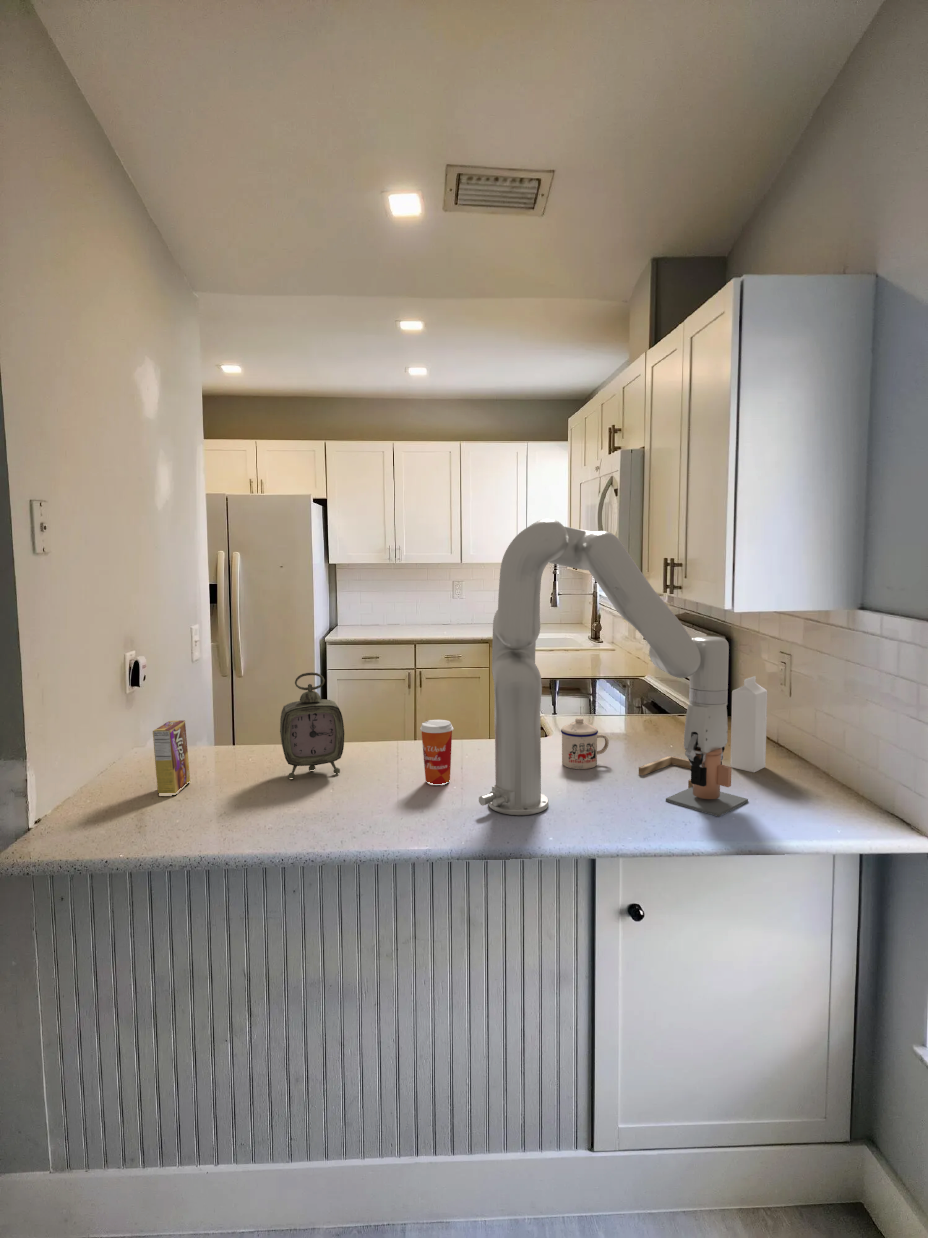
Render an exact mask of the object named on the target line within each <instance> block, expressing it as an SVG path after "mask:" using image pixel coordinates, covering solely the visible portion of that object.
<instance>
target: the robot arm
mask: <svg viewBox="0 0 928 1238" xmlns="http://www.w3.org/2000/svg"><path fill="white" fill-rule="evenodd" d="M548 564H554V565H557V566H558V565H559V566H562V567H566V568H573V569H576V570H577V569H578V570H583V571H588V572H589V573H590V575H591V577H593V579H594V580H595V582H596V583H597V584H598V585H599V587H600V589H601V590H602V591H603V593H604V594H605V596H606V598H607V599H608V600H609V602H610V603H611V605H612V606H613V608H614V609H615V610H616V612H617V613H618V614H619V615H620V616H621V618H623V619H624V620H625V621H626V622H627V623H629V624H630V625H631V626H632V627H633V628H634V629H635V630H637V631H638V633H639V634H640V635H641V636H642V637H643V639H644V640H645V642H647V644H648V645H649V650H648V651H649V652H648V654H649V659H650V661H651V663H652V664H653V665H654V666H655V667H657V668H658V669H659V670H662V671H663V672H665V673H667V674H669V676H671V677H674V678H679V679H683V678H684V679H686V678H689V682H688V683H689V688H688V689H689V691H688V694H689V695H688V696H689V697H688V705H687V708H686V714H685V724H684V732H683V748H684V750H685V753H684V754H685V756H686V757H687V759H688V760H689V761H690V765H691V769H690V779H691V783H692V784H695V785H699V786H703V787H704V786H706V774H707V768H706V767H705V762H706V755H707V753H709V752H712V751H714V750H717V749H719V748H722V754H721V765H723V760H724V754H723V753H724V752H725V749H726V748H725V747H726V746H727V744H728V732H729V730H728V729H729V728H728V726H729V724H728V709H727V708H728V707H727V706H728V695H729V694H728V692H729V691H728V689H729V685H728V684H729V659H730V658H729V656H730V654H729V652H730V651H729V649H730V646H729V645H730V644H729V642H728V641H727V639H725V638H723V637H720V636H719V637H718V636H697V637H691V636H690V634H689V633H688V631H687V630H686V628H685V626H684V625H683V624H682V622H681V620H679V618H678V617H677V616H676V614H674V613H673V611H672V610H671V609H670V607H669V606H668V605H667V604H666V603H665V601H664V600H663V598H662V597H660V595H659V594H658V593H657V591H655V589H654V588H653V587H652V585H651V584H650V582H649V581H648V579H647V578H646V577H645V575H644V574H643V573H642V571H641V570H640V568H639V567H638V565H637V564H636V562H635V560H634V559H633V558H632V556H631V554H630V553H629V551H627V549H626V547H625V546H624V544H623V543H622V541H621V540H620V539H619V537H617V536H616V535H615V534H614V533H612V532H611V531H606V530H599V531H593V530H592V531H590V530H585V529H580V528H579V529H578V528H575V527H571V526H570V527H569V526H565V525H563V524H562V523H561V522H559V521H558V520H556V519H552V518H544V519H540V520H537V521H536V522H534V523H532V524H530V525H528V526H527V527H526V528H524V529H523V530H522V531H520V532H519V533H518V534H516V535H515V537H514V538H513V539H512V540H511V541H510V543H509V545H508V546H507V547H506V550H505V551H504V554H503V556H502V560H501V564H500V569H499V570H500V571H499V581H498V582H499V583H498V595H497V596H498V597H497V598H498V599H497V602H498V603H497V610H496V612H495V613H494V617H493V621H492V648H491V649H492V651H491V657H492V658H491V661H492V663H491V669H492V670H491V673H492V679H493V680H492V681H493V690H494V691H493V692H494V710H493V711H494V715H493V717H494V751H495V752H494V758H495V759H494V760H495V761H494V763H495V765H494V767H495V771H494V772H495V785H492V786H491V791H490V792H489V793H486V794H484V795H480V796H479V797H478V803H479V804H480V806H487V805H488V806H489V808H490V809H492V810H493V811H495V812H497V813H501V814H502V815H503V814H504V815H510V816H526V815H527V816H531V815H535V814H539V813H541V812H543V811H545V810H546V809H547V808H548V807H549V798H548V796H546V795H545V794H544V793H542V766H541V765H542V760H541V759H542V756H541V755H542V753H541V750H542V749H541V744H542V741H541V739H542V738H541V712H542V711H541V709H542V706H541V705H542V694H543V692H542V690H543V684H542V675H541V672H540V670H539V667H538V665H537V664H536V643H537V639H538V638H539V635H540V633H541V615H540V614H541V613H540V612H541V604H540V603H541V590H542V589H541V587H542V577H543V574H544V571H545V569H546V567H547V566H548ZM697 748H699V749H701V752H700V751H696V749H697ZM697 754H700V755H701V760H700V759H699V757H698V756H696V755H697Z"/></svg>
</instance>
